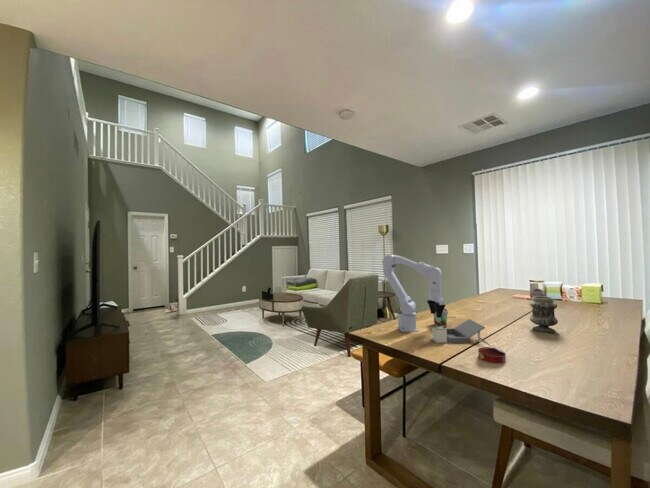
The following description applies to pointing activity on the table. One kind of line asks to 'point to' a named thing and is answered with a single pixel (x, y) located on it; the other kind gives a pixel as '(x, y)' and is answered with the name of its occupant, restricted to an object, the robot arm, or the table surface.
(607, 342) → the table surface
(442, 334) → the module
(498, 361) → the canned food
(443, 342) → the pad
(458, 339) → the case
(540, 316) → the dark ornate urn
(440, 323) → the food container
